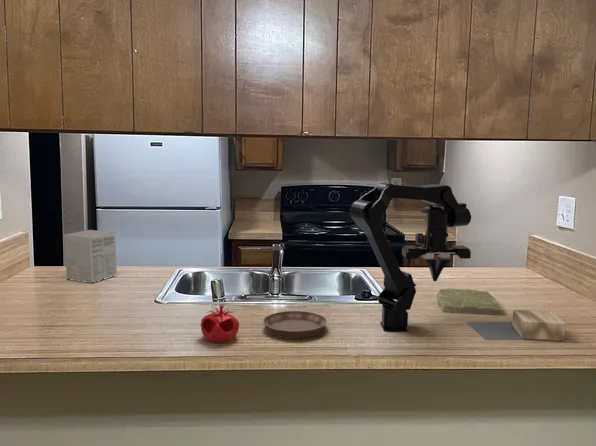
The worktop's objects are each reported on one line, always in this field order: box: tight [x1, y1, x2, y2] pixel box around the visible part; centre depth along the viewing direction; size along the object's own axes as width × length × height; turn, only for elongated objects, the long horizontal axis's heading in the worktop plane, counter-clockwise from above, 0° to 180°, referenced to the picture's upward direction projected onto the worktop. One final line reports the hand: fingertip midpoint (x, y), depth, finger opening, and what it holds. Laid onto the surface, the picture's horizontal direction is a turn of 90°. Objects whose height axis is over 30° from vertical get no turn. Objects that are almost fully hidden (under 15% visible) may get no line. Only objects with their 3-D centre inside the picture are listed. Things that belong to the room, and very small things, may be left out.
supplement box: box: [63, 229, 118, 283], centre depth 197 cm, size 13×13×18 cm
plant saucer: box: [262, 310, 327, 339], centre depth 145 cm, size 18×18×3 cm
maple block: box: [511, 309, 567, 342], centre depth 141 cm, size 5×10×10 cm
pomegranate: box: [200, 304, 240, 344], centre depth 137 cm, size 10×10×9 cm
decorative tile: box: [436, 288, 504, 317], centre depth 167 cm, size 19×20×4 cm
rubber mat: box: [466, 321, 570, 341], centre depth 144 cm, size 22×14×1 cm, turn 92°
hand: (434, 280), depth 151 cm, fingers closed
